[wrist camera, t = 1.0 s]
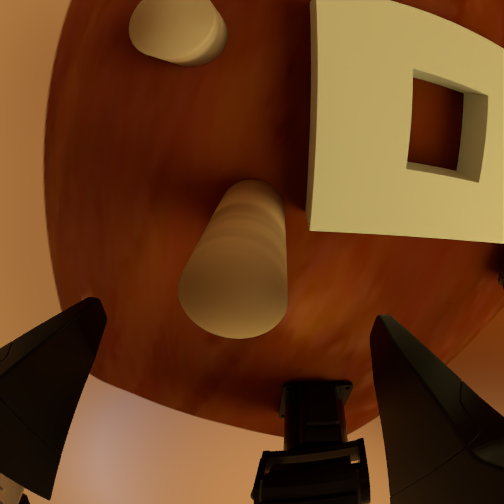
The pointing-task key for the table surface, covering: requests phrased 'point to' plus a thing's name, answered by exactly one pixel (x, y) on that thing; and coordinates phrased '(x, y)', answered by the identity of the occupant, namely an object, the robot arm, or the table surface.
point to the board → (400, 124)
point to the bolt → (501, 278)
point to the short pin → (178, 31)
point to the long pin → (239, 265)
